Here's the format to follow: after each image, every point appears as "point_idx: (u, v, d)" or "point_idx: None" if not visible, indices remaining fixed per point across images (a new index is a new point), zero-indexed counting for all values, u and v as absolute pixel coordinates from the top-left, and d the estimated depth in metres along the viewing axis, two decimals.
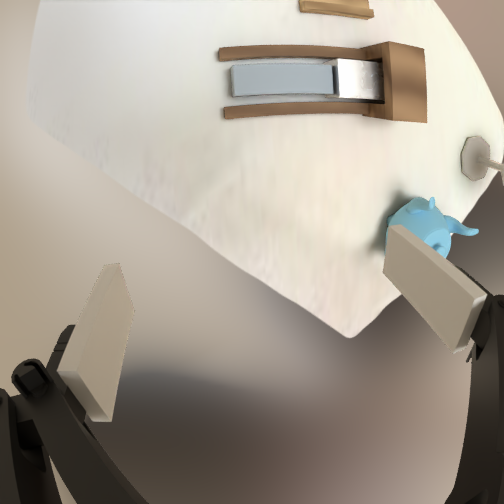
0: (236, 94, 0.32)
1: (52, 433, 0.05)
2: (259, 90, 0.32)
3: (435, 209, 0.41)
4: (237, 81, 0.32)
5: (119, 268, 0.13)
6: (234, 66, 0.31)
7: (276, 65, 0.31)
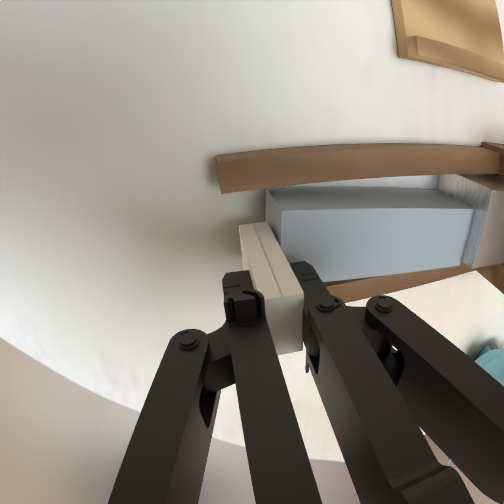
0: None
1: (247, 362, 0.08)
2: (335, 272, 0.15)
3: None
4: (287, 253, 0.14)
5: None
6: (286, 214, 0.13)
7: (383, 213, 0.14)
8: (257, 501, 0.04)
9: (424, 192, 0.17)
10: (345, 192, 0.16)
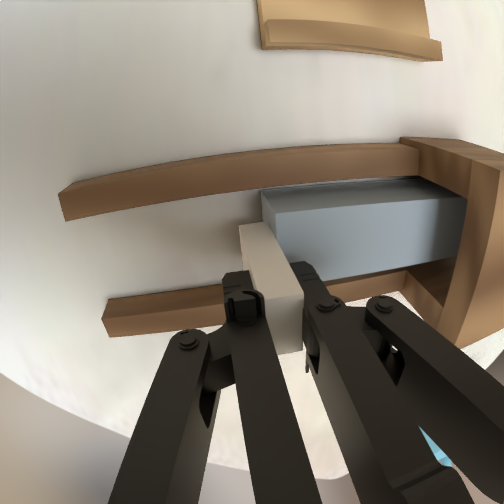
0: None
1: (247, 362, 0.08)
2: (335, 270, 0.15)
3: None
4: (285, 255, 0.14)
5: None
6: (280, 217, 0.13)
7: (379, 208, 0.14)
8: (257, 501, 0.04)
9: (422, 182, 0.17)
10: (340, 188, 0.16)
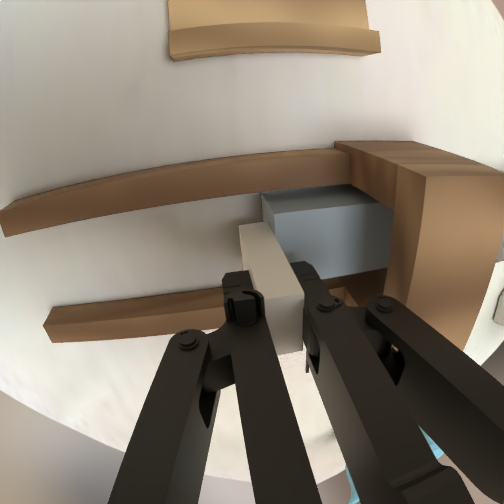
0: None
1: (247, 362, 0.08)
2: (333, 269, 0.15)
3: None
4: None
5: None
6: (278, 217, 0.14)
7: (375, 208, 0.14)
8: (257, 501, 0.04)
9: None
10: (338, 188, 0.16)
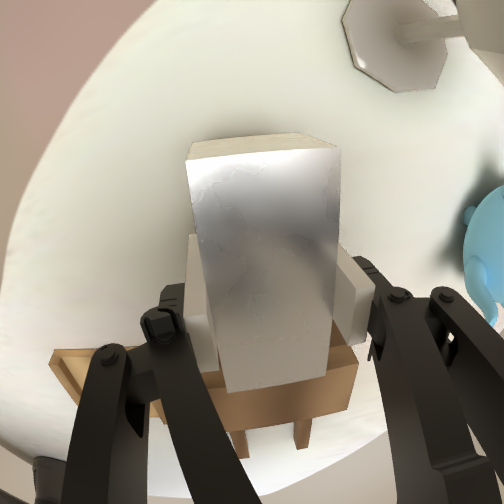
0: None
1: (170, 380, 0.07)
2: None
3: (496, 241, 0.18)
4: None
5: None
6: None
7: None
8: None
9: None
10: None
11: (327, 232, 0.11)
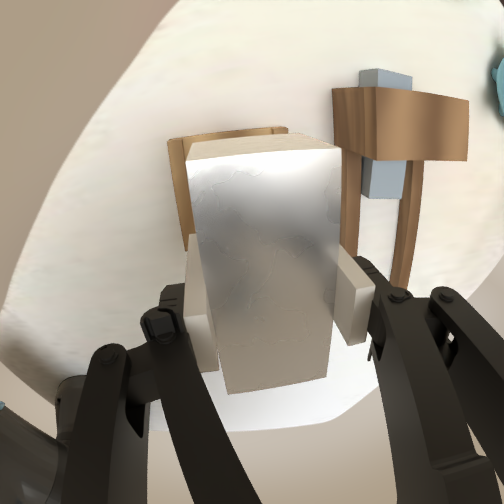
0: (400, 197, 0.27)
1: (170, 380, 0.07)
2: (401, 170, 0.26)
3: None
4: (387, 195, 0.27)
5: None
6: (370, 196, 0.27)
7: None
8: None
9: None
10: None
11: (328, 233, 0.11)
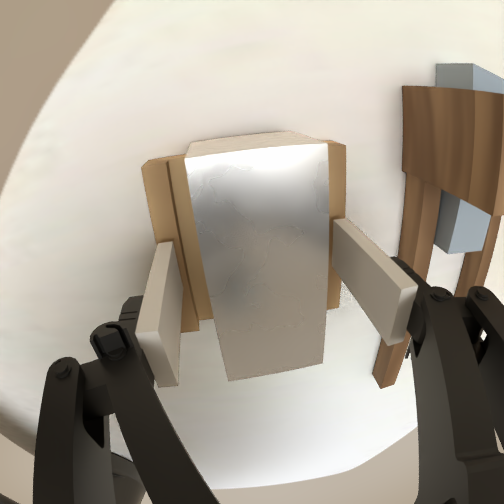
0: (480, 248, 0.17)
1: (124, 396, 0.07)
2: None
3: None
4: (468, 247, 0.17)
5: (173, 246, 0.15)
6: (450, 251, 0.17)
7: None
8: None
9: None
10: None
11: (318, 222, 0.12)
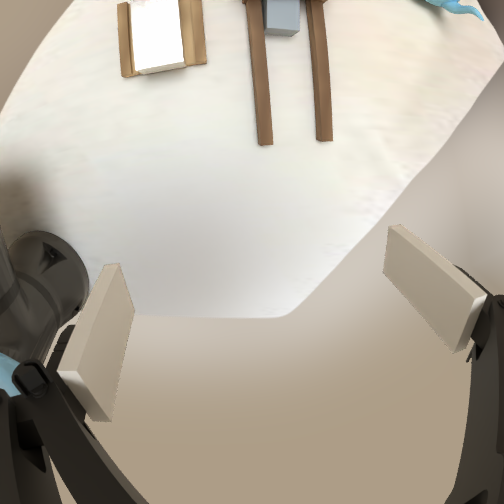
0: (298, 29, 0.28)
1: (52, 433, 0.05)
2: (295, 9, 0.27)
3: None
4: (285, 26, 0.28)
5: (119, 268, 0.13)
6: (268, 26, 0.28)
7: None
8: None
9: None
10: (262, 4, 0.28)
11: None
